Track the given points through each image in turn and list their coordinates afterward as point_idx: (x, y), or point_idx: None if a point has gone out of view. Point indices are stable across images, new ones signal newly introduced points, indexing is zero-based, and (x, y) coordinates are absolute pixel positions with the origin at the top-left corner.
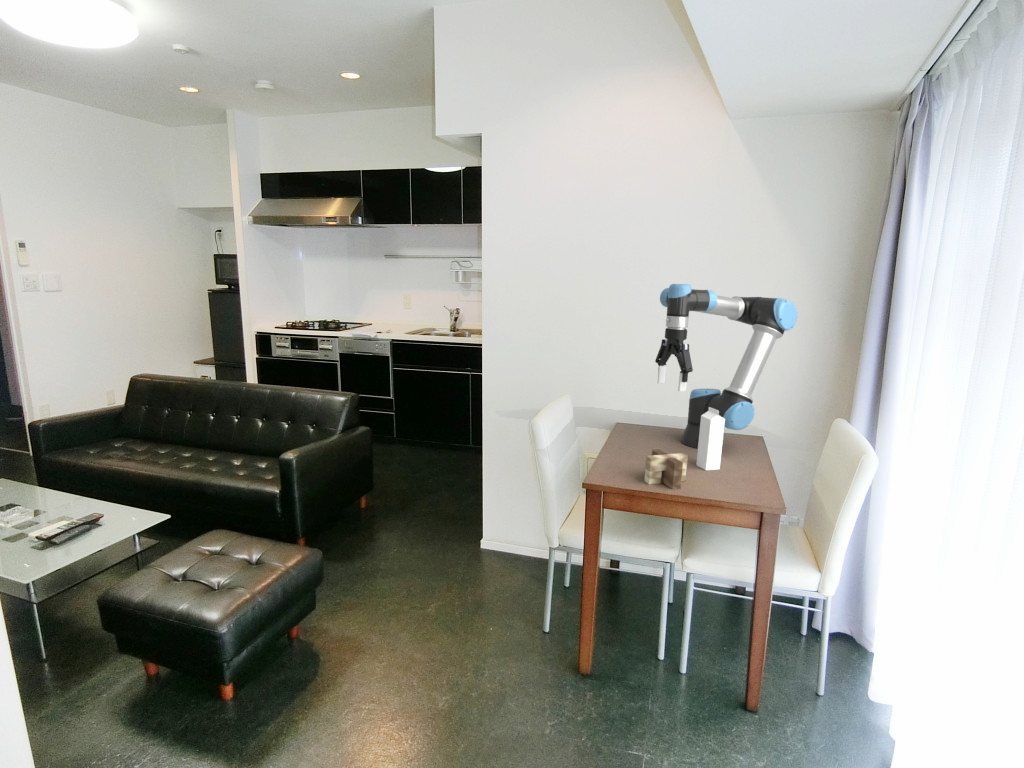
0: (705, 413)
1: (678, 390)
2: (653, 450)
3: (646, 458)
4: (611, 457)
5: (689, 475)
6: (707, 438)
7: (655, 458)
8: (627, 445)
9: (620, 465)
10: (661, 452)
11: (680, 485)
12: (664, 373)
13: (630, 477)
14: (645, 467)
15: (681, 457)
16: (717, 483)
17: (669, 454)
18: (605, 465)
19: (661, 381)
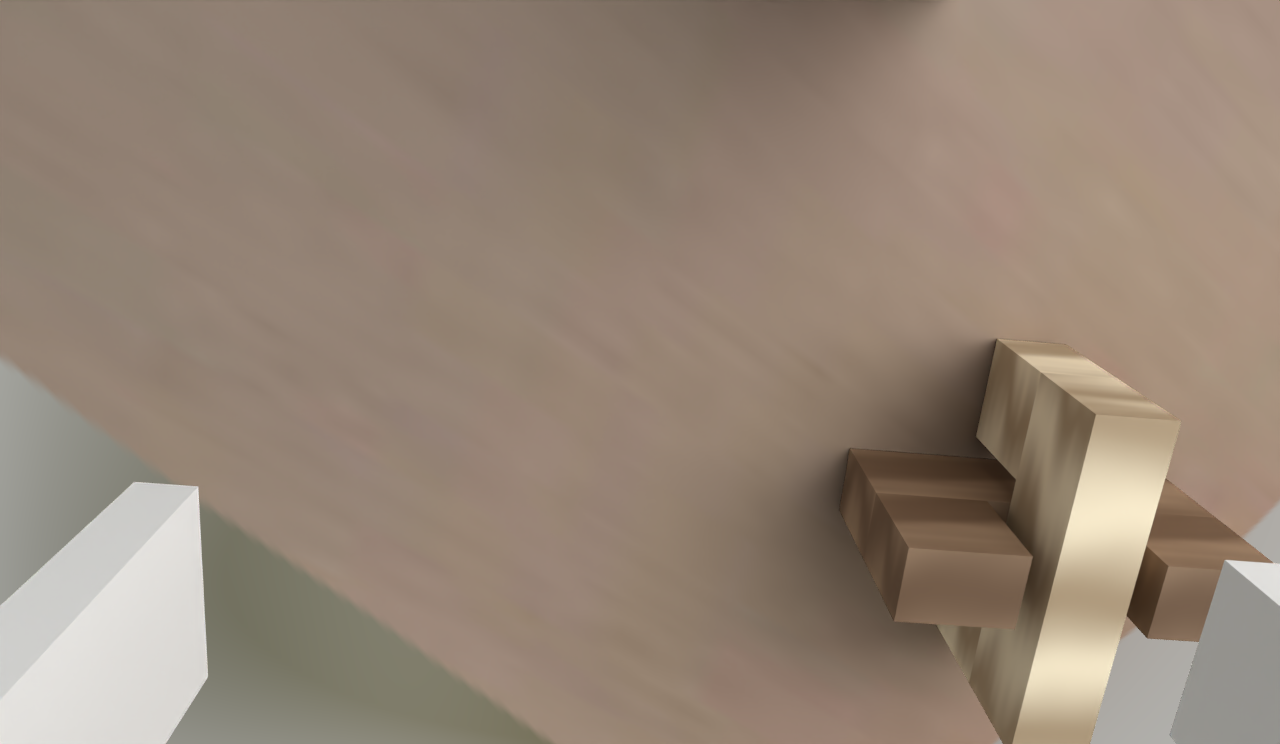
0: None
1: (1186, 741)
2: (914, 622)
3: (1006, 740)
4: (389, 574)
5: (983, 224)
6: None
7: (1094, 721)
8: (84, 258)
9: (585, 605)
10: (994, 590)
11: (1169, 484)
12: (32, 723)
13: (832, 667)
14: (973, 689)
15: (1157, 480)
16: (1226, 122)
17: (1070, 555)
18: (551, 702)
19: (180, 627)
